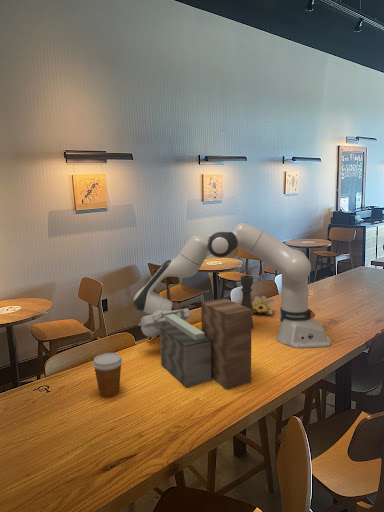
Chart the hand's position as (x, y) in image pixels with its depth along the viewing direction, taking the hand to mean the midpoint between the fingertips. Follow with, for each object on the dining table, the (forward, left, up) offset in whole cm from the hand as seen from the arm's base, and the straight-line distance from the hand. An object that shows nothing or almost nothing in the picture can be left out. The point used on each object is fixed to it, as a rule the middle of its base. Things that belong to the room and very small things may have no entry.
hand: (172, 313), depth 149 cm
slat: (-5, +7, -3) cm, 10 cm away
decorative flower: (-37, -58, -19) cm, 72 cm away
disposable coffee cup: (+17, +28, -19) cm, 38 cm away
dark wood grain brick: (-6, +12, -18) cm, 23 cm away
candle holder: (-30, -36, -19) cm, 50 cm away
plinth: (-21, +14, -18) cm, 31 cm away
